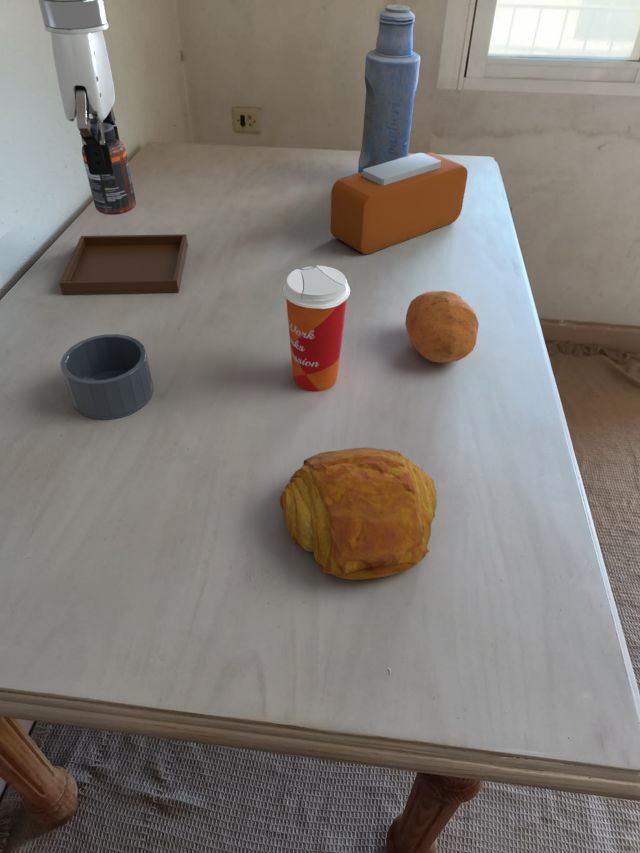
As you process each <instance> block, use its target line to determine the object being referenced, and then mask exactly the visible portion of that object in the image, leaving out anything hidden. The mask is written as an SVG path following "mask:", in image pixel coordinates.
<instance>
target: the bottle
mask: <svg viewBox="0 0 640 853" xmlns="http://www.w3.org/2000/svg"><path fill="white" fill-rule="evenodd" d="M415 18H416V15H415V13H413V11H411V7H410V6H408V5H403V4H387V5H386V6H385V9H384V10H381V11H380V14H379V18H378V22H379V27H378V32H377V36H376V37H377V38H376V42H375V49H372V50H369V51H368V52H367V53H366V55H365V64H364V65H365V66H364V85H365V100H364V114H363V128H362V138H361V139H362V140H361V147H360V148H361V149H360V153H359V158H358V163H357V164H358V165H357V166H358V167H357V173H361V172H363V169H365V168H369V167H372V166H376V165H379V164H382V163H386V162H389V161H393V160H396V159H400V158H403V157H406V156H409V147H410V137H411V130H412V123H413V122H412V120H413V111H414V102H415V96H416V92H417V87H418V83H419V75H420V66H421V56H420V54H419V53H417V52H415V51H413V47H414V39H413V38H414V37H413V35H414V34H413V33H414V32H413V31H414V23H415V20H416V19H415Z"/></svg>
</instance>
